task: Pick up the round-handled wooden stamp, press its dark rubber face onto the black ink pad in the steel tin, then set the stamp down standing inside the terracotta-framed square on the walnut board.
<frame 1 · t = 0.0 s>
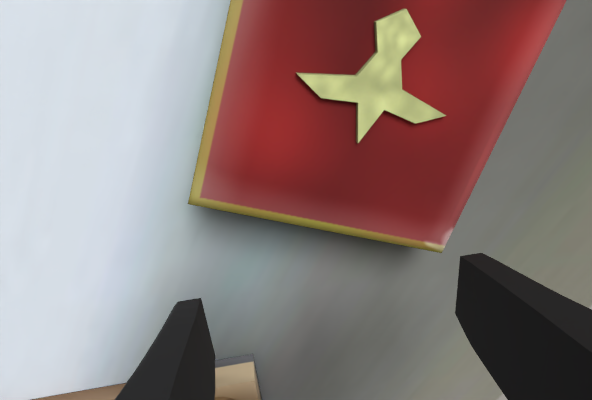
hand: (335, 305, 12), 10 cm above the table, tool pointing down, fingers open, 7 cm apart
stamp: (218, 390, 27), on the table
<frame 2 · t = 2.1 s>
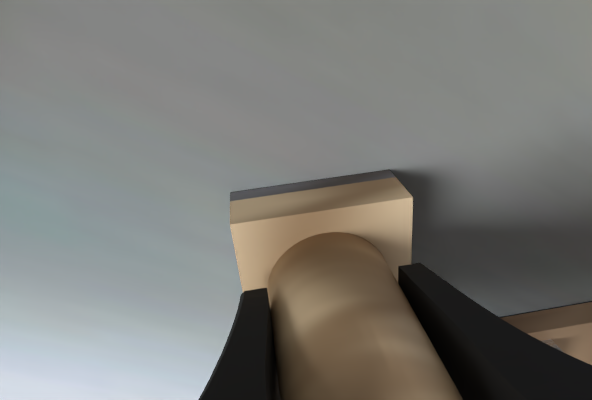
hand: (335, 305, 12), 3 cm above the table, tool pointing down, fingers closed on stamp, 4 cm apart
stamp: (316, 248, 15), on the table, touching gripper
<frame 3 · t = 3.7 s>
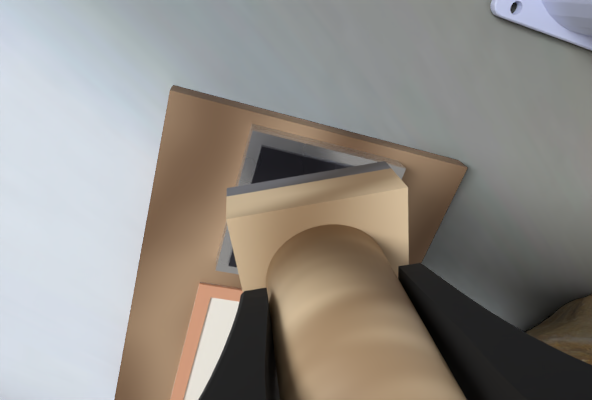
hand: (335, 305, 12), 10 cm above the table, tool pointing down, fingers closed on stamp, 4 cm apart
stamp: (315, 241, 15), point 7 cm above the table, touching gripper
ink pad: (305, 210, 21), resting on board
print box: (263, 358, 25), resting on board
fossil: (564, 316, 28), on the table
board: (275, 282, 24), on the table
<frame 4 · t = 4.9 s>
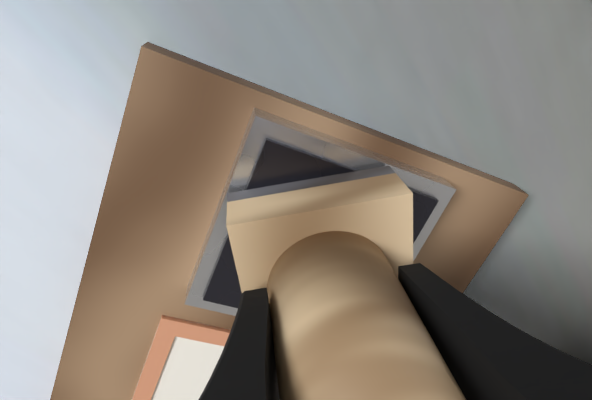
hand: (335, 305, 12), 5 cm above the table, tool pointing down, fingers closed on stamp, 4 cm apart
stamp: (317, 247, 14), point 2 cm above the table, touching gripper, ink pad
ink pad: (312, 233, 16), resting on board
board: (261, 319, 18), on the table
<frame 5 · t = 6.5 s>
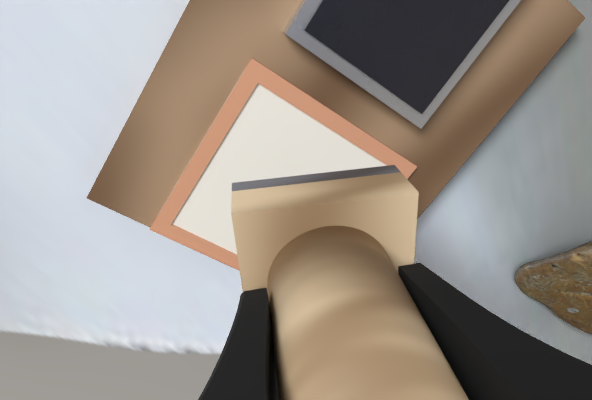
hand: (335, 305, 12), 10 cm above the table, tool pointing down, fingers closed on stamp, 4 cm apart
stamp: (318, 243, 14), point 7 cm above the table, touching gripper
ink pad: (403, 4, 17), resting on board
print box: (284, 196, 20), resting on board
fossil: (577, 261, 26), on the table
board: (326, 104, 20), on the table
when the fingers open (4 cm above the table, at t = 8.0 s): stamp stays where it is, resting on print box.
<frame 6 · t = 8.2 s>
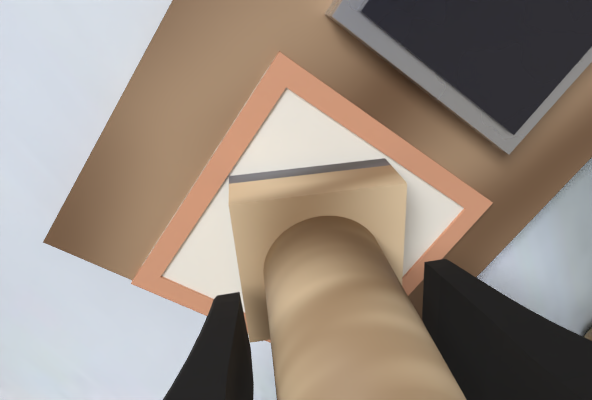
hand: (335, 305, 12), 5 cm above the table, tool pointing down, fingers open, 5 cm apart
stamp: (312, 234, 15), point 1 cm above the table, touching print box
print box: (314, 239, 15), resting on board
board: (375, 117, 15), on the table
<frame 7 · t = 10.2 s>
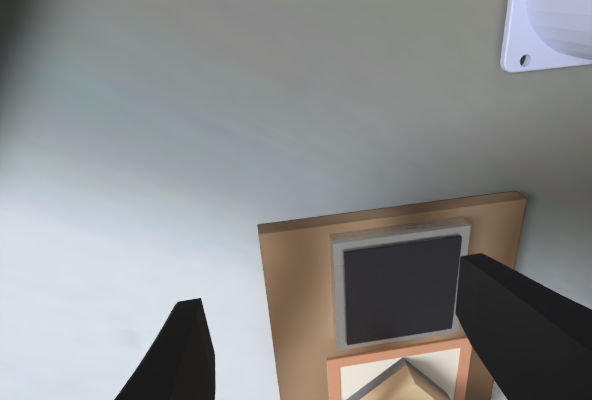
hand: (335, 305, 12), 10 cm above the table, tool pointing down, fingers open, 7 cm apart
stamp: (395, 398, 28), point 1 cm above the table, touching print box
ink pad: (394, 280, 24), resting on board
print box: (397, 398, 28), resting on board
board: (386, 335, 27), on the table
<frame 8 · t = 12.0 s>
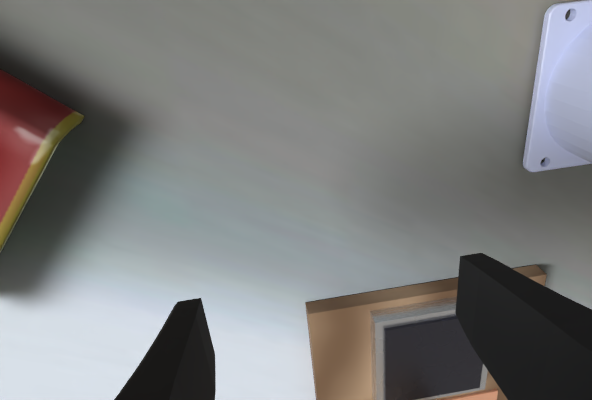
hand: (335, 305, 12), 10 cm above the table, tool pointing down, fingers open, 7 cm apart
ink pad: (427, 346, 27), resting on board
board: (418, 389, 30), on the table
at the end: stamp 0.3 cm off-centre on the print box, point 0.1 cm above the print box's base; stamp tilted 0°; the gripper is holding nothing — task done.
